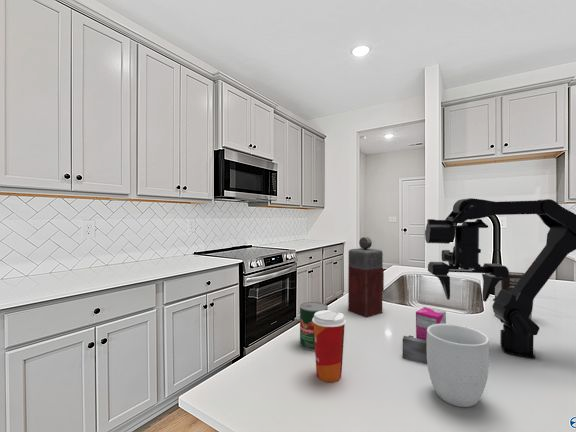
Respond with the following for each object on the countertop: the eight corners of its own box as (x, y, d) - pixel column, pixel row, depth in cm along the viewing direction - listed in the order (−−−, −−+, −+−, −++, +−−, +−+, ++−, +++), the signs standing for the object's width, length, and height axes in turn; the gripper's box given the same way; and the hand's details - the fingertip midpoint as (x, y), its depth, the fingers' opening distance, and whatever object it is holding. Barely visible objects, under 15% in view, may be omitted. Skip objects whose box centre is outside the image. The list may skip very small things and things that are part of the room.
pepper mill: (386, 311, 113) (387, 237, 113) (366, 317, 107) (366, 238, 107) (368, 305, 121) (368, 235, 120) (347, 310, 115) (348, 236, 114)
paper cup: (323, 363, 75) (323, 307, 74) (352, 374, 70) (352, 314, 70) (305, 377, 69) (305, 315, 68) (334, 389, 64) (334, 323, 64)
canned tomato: (329, 340, 88) (329, 302, 88) (325, 352, 81) (325, 311, 80) (303, 337, 90) (303, 300, 90) (296, 349, 83) (296, 308, 83)
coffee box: (501, 321, 104) (502, 274, 103) (493, 315, 110) (494, 270, 110) (532, 323, 102) (533, 275, 101) (522, 317, 108) (523, 272, 108)
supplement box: (424, 347, 84) (424, 306, 84) (447, 354, 79) (447, 311, 79) (415, 354, 80) (415, 310, 80) (438, 362, 76) (438, 316, 75)
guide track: (456, 354, 80) (457, 335, 80) (455, 370, 72) (456, 349, 72) (408, 343, 86) (408, 326, 86) (402, 357, 78) (402, 338, 78)
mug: (441, 369, 72) (441, 315, 72) (496, 388, 64) (497, 327, 64) (418, 398, 61) (418, 333, 61) (481, 424, 53) (482, 351, 53)
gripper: (490, 241, 90) (489, 294, 90) (423, 240, 93) (422, 291, 93) (510, 246, 79) (509, 305, 79) (433, 244, 82) (433, 301, 82)
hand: (466, 300), depth 84 cm, fingers open, 9 cm apart
